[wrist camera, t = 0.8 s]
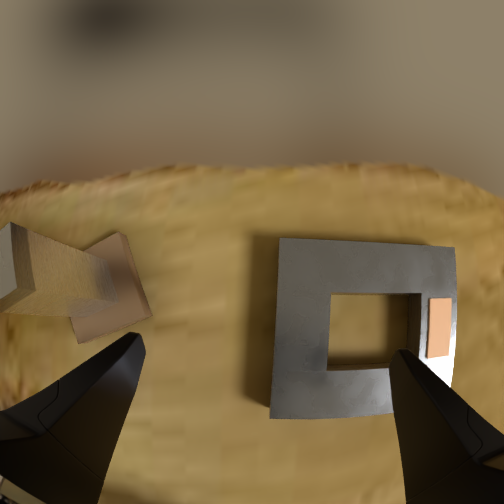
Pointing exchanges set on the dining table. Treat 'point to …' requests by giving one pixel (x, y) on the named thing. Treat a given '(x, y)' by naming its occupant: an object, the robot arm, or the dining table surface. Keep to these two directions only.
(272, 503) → the dining table surface
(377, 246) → the flange plate
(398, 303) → the dining table surface
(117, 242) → the pad
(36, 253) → the grey square peg
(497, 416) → the dining table surface
